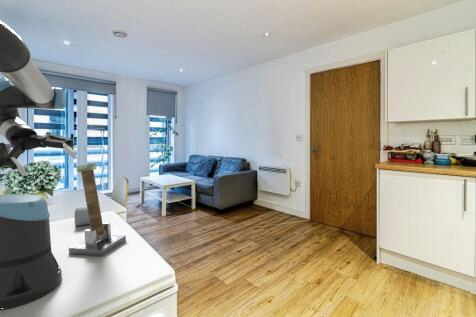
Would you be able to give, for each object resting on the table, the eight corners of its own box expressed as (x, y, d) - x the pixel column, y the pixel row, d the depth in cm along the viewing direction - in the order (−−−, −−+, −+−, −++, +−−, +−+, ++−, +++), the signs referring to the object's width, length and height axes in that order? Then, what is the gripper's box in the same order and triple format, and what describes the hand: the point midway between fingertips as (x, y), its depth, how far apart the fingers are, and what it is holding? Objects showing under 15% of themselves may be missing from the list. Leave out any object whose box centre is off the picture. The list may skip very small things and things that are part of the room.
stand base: (102, 256, 77) (100, 234, 76) (69, 253, 79) (67, 232, 79) (125, 240, 89) (124, 221, 88) (96, 238, 91) (95, 219, 90)
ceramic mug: (97, 225, 106) (96, 207, 105) (74, 228, 102) (73, 210, 101) (98, 218, 115) (97, 202, 115) (77, 221, 111) (76, 204, 111)
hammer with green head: (98, 242, 81) (84, 164, 79) (88, 243, 82) (75, 166, 80) (108, 236, 86) (96, 163, 84) (99, 237, 87) (87, 164, 85)
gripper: (62, 133, 94) (93, 158, 86) (-27, 156, 75) (2, 190, 67) (58, 116, 90) (91, 140, 82) (-37, 134, 71) (-7, 168, 63)
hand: (51, 163), depth 74 cm, fingers open, 13 cm apart
